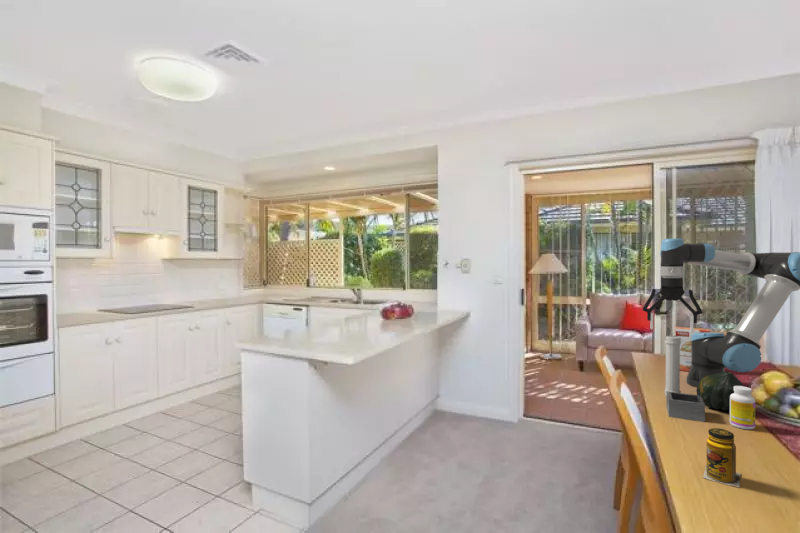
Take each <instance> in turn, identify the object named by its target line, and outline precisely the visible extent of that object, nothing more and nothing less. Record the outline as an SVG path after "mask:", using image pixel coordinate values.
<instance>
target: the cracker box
mask: <svg viewBox="0 0 800 533" xmlns="http://www.w3.org/2000/svg"><path fill="white" fill-rule="evenodd" d="M674 328H675V330H674V331H675V334H674V336H678V337H680V338H681V344H680V371H683V372H689V370H690V368H691V339H692V334H693V333H698V332H711V330H710V329H709V328H697V327H696V328H694V329H693V332H691V331H690V327H684V326H683V327H682V326H674Z"/></svg>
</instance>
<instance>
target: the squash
mask: <svg viewBox="0 0 800 533" xmlns="http://www.w3.org/2000/svg"><path fill="white" fill-rule="evenodd" d="M734 386H744V387H746V386H745V385H744V383H743V382H742V381H741V380H740V379H739V378H738V377H737V376H736V375H735V374H734V373H732V372H731V371H725V372H721V373H717V374H712V375H708V376H706V377H704V378H703V379H702V380H701V381H700V382H699V384H698V385H697V387H696V391H695V392H696V395H700V396H701V398H702V400H703V402H704V404H705V407H707V408H712V409H716V410H719V409H720V410H722V411H726V412H728V413H730V395H731V394H733V393H734V390H733V389H734Z"/></svg>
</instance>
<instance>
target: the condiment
mask: <svg viewBox="0 0 800 533" xmlns="http://www.w3.org/2000/svg"><path fill="white" fill-rule="evenodd" d="M705 453H706V465H705V468H704V472H703V476H702V477H703V479H706V480H708V481H709V480H710V481H713V482H716V483H720V484H723V485H728V486H733V487H737V488H740V484H741V473H740V472H737V447H736V444H735V435H734V433H733V432H731V431H729V430H728V429H727V430H726V429H724V428H719V427H718V428H717V427H713V428H709V429H708V435H707V439H706V452H705Z"/></svg>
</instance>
